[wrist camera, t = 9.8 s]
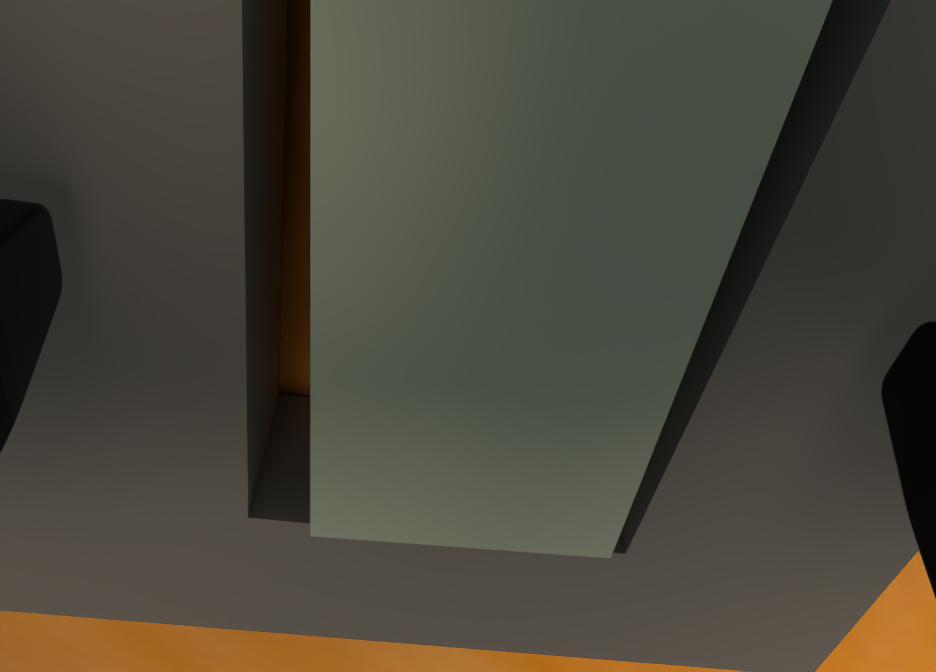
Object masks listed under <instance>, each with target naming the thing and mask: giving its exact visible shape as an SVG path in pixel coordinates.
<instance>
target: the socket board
mask: <svg viewBox="0 0 936 672" xmlns="http://www.w3.org/2000/svg"><path fill="white" fill-rule="evenodd" d="M286 29H287V0H0V199H12V200H19V201H27V202H34V203H40V204H42V205H43V206H45V207H46V208H47V209H48V211H49V213H50V215H51V217H52V221H53V226H54V232H55V237H56V242H57V248H58V253H59V259H60V264H61V269H62V279H63V283H62V291H61V296H60V300H59V302H58V305H57V308H56V311H55V314H54V317H53V319H52V322H51V325H50V328H49V331H48V333H47V336H46V339H45V342H44V345H43V347H42V350H41V353H40V356H39V359H38V362H37V364H36V367H35V370H34V373H33V376H32V378H31V381H30V384H29V387H28V390H27V393H26V395H25V398H24V401H23V404H22V406H21V409H20V412H19V414H18V417H17V419H16V422H15V424H14V426H13V429H12V431H11V433H10V435H9V437H8V439H7V441H6V443H5V446H4V448H3V450H2V451H1V453H0V610H2V611H14V612H26V613H39V614H51V615H63V616H76V617H88V618H100V619H113V620H125V621H137V622H149V623H162V624H174V625H186V626H199V627H211V628H223V629H236V630H248V631H260V632H272V633H285V634H297V635H309V636H322V637H334V638H346V639H359V640H371V641H383V642H395V643H408V644H420V645H432V646H445V647H457V648H469V649H482V650H494V651H506V652H518V653H531V654H543V655H555V656H568V657H580V658H592V659H605V660H617V661H629V662H641V663H654V664H666V665H678V666H691V667H703V668H715V669H728V670H740V671H752V672H815V671H816V670H817V668H818V667H819V666H820V665H821V664H822V663H823V661H824V660H825V659H826V658H827V657H828V656H829V654H830V653H831V652H832V651H833V650H834V649H835V647H836V646H837V645H838V644H839V643H840V642H841V640H842V639H843V638H844V637H845V636H846V635H847V633H848V632H849V631H850V630H851V629H852V628H853V626H854V625H855V624H856V623H857V622H858V621H859V619H860V618H861V617H862V616H863V615H864V614H865V612H866V611H867V610H868V609H869V608H870V607H871V605H872V604H873V603H874V602H875V601H876V600H877V598H878V597H879V596H880V595H881V594H882V593H883V591H884V590H885V589H886V588H887V587H888V585H889V584H890V583H891V582H892V581H893V580H894V578H895V577H896V576H897V575H898V574H899V573H900V571H901V570H902V569H903V568H904V567H905V566H906V564H907V563H908V562H909V561H910V560H911V559H912V557H913V556H914V555H915V554H916V553H917V552H918V550H919V548H918V545H917V542H916V539H915V536H914V533H913V530H912V527H911V523H910V520H909V517H908V513H907V509H906V505H905V501H904V497H903V492H902V488H901V483H900V479H899V474H898V470H897V465H896V461H895V456H894V452H893V448H892V443H891V439H890V434H889V430H888V425H887V421H886V416H885V412H884V407H883V403H882V397H881V388H882V382H883V379H884V376H885V375H886V373H887V371H888V370H889V368H890V367H891V365H892V364H893V362H894V361H895V359H896V358H897V356H898V354H899V353H900V351H901V350H902V348H903V347H904V345H905V344H906V342H907V341H908V339H909V338H910V336H911V335H912V333H913V332H914V331H915V329H916V328H917V327H919V326H920V325H921V324H923V323H925V322H929V321H936V0H833V1H832V3H831V6H830V8H829V11H828V13H827V16H826V18H825V21H824V23H823V26H822V28H821V31H820V33H819V36H818V38H817V41H816V43H815V46H814V48H813V51H812V53H811V56H810V58H809V61H808V63H807V66H806V68H805V71H804V74H803V76H802V79H801V81H800V84H799V86H798V89H797V91H796V94H795V96H794V99H793V101H792V104H791V106H790V109H789V111H788V114H787V116H786V119H785V121H784V124H783V126H782V129H781V131H780V134H779V136H778V139H777V141H776V144H775V146H774V149H773V151H772V154H771V156H770V159H769V161H768V164H767V166H766V169H765V172H764V174H763V177H762V179H761V182H760V184H759V187H758V189H757V192H756V194H755V197H754V199H753V202H752V204H751V207H750V209H749V212H748V214H747V217H746V219H745V222H744V224H743V227H742V229H741V232H740V234H739V237H738V239H737V242H736V244H735V247H734V249H733V252H732V254H731V257H730V259H729V262H728V264H727V267H726V270H725V272H724V275H723V277H722V280H721V282H720V285H719V287H718V290H717V292H716V295H715V297H714V300H713V302H712V305H711V307H710V310H709V312H708V315H707V317H706V320H705V322H704V325H703V327H702V330H701V332H700V335H699V337H698V340H697V342H696V345H695V347H694V350H693V352H692V355H691V357H690V360H689V362H688V365H687V368H686V370H685V373H684V375H683V378H682V380H681V383H680V385H679V388H678V390H677V393H676V395H675V398H674V400H673V403H672V405H671V408H670V410H669V413H668V415H667V418H666V420H665V423H664V425H663V428H662V430H661V433H660V435H659V438H658V440H657V443H656V445H655V448H654V450H653V453H652V455H651V458H650V460H649V463H648V466H647V468H646V471H645V473H644V476H643V478H642V481H641V483H640V486H639V488H638V491H637V493H636V496H635V498H634V501H633V503H632V506H631V508H630V511H629V513H628V516H627V518H626V521H625V523H624V526H623V528H622V531H621V533H620V536H619V538H618V541H617V543H616V546H615V548H614V551H613V553H612V556H611V558H598V557H585V556H571V555H558V554H544V553H531V552H517V551H504V550H490V549H476V548H463V547H449V546H436V545H422V544H409V543H395V542H382V541H368V540H355V539H341V538H328V537H314V536H310V397H302V396H293V395H284V394H278V391H279V345H280V300H281V255H282V210H283V165H284V119H285V74H286Z"/></svg>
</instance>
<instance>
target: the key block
mask: <svg viewBox="0 0 936 672" xmlns="http://www.w3.org/2000/svg"><path fill="white" fill-rule="evenodd" d="M832 1H833V0H311V134H310V536H314V537H328V538H341V539H355V540H368V541H382V542H395V543H409V544H422V545H436V546H449V547H463V548H476V549H490V550H504V551H517V552H531V553H544V554H558V555H571V556H585V557H598V558H611V556H612V553H613V551H614V548H615V546H616V543H617V541H618V538H619V536H620V533H621V531H622V528H623V526H624V523H625V521H626V518H627V516H628V513H629V511H630V508H631V506H632V503H633V501H634V498H635V496H636V493H637V491H638V488H639V486H640V483H641V481H642V478H643V476H644V473H645V471H646V468H647V466H648V463H649V460H650V458H651V455H652V453H653V450H654V448H655V445H656V443H657V440H658V438H659V435H660V433H661V430H662V428H663V425H664V423H665V420H666V418H667V415H668V413H669V410H670V408H671V405H672V403H673V400H674V398H675V395H676V393H677V390H678V388H679V385H680V383H681V380H682V378H683V375H684V373H685V370H686V368H687V365H688V362H689V360H690V357H691V355H692V352H693V350H694V347H695V345H696V342H697V340H698V337H699V335H700V332H701V330H702V327H703V325H704V322H705V320H706V317H707V315H708V312H709V310H710V307H711V305H712V302H713V300H714V297H715V295H716V292H717V290H718V287H719V285H720V282H721V280H722V277H723V275H724V272H725V270H726V267H727V264H728V262H729V259H730V257H731V254H732V252H733V249H734V247H735V244H736V242H737V239H738V237H739V234H740V232H741V229H742V227H743V224H744V222H745V219H746V217H747V214H748V212H749V209H750V207H751V204H752V202H753V199H754V197H755V194H756V192H757V189H758V187H759V184H760V182H761V179H762V177H763V174H764V172H765V169H766V166H767V164H768V161H769V159H770V156H771V154H772V151H773V149H774V146H775V144H776V141H777V139H778V136H779V134H780V131H781V129H782V126H783V124H784V121H785V119H786V116H787V114H788V111H789V109H790V106H791V104H792V101H793V99H794V96H795V94H796V91H797V89H798V86H799V84H800V81H801V79H802V76H803V74H804V71H805V68H806V66H807V63H808V61H809V58H810V56H811V53H812V51H813V48H814V46H815V43H816V41H817V38H818V36H819V33H820V31H821V28H822V26H823V23H824V21H825V18H826V16H827V13H828V11H829V8H830V6H831V3H832Z"/></svg>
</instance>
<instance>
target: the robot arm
mask: <svg viewBox="0 0 936 672" xmlns="http://www.w3.org/2000/svg"><path fill="white" fill-rule="evenodd" d="M62 283H63V279H62V269H61V264H60V259H59V253H58V248H57V242H56V237H55V232H54V226H53V221H52V217H51V215H50V213H49V211H48V209H47V208H46V207H45V206H43V205H42V204H40V203H34V202H27V201H19V200H12V199H0V453H1V451H2V450H3V448H4V446H5V443H6V441H7V439H8V437H9V435H10V433H11V431H12V429H13V426H14V424H15V422H16V419H17V417H18V414H19V412H20V409H21V406H22V404H23V401H24V398H25V395H26V393H27V390H28V387H29V384H30V381H31V378H32V376H33V373H34V370H35V367H36V364H37V362H38V359H39V356H40V353H41V350H42V347H43V345H44V342H45V339H46V336H47V333H48V331H49V328H50V325H51V322H52V319H53V317H54V314H55V311H56V308H57V305H58V302H59V300H60V296H61V291H62ZM881 397H882V403H883V407H884V412H885V416H886V421H887V425H888V430H889V434H890V439H891V443H892V448H893V452H894V456H895V461H896V465H897V470H898V474H899V479H900V483H901V488H902V492H903V497H904V501H905V505H906V509H907V513H908V517H909V520H910V523H911V527H912V530H913V533H914V536H915V539H916V542H917V545H918V548H919V551H920V554H921V557H922V560H923V563H924V566H925V569H926V572H927V575H928V577H929V580H930V583H931V586H932V589H933V592H934V595H935V598H936V321H929V322H925V323H923V324H921V325H920V326H919V327H917V328H916V329H915V331H914V332H913V333H912V335H911V336H910V338H909V339H908V341H907V342H906V344H905V345H904V347H903V348H902V350H901V351H900V353H899V354H898V356H897V358H896V359H895V361H894V362H893V364H892V365H891V367H890V368H889V370H888V371H887V373H886V375H885V376H884V379H883V382H882V388H881Z"/></svg>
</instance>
